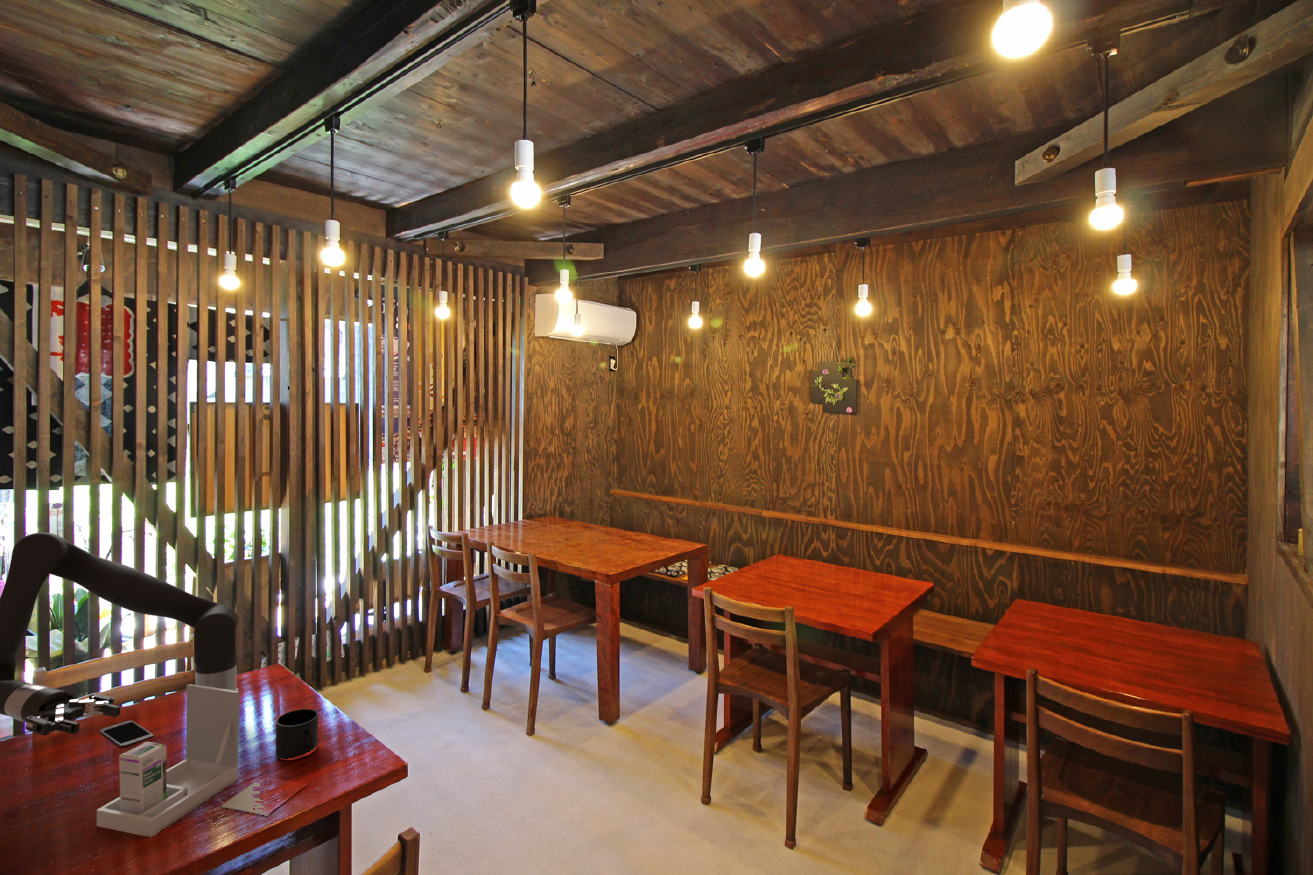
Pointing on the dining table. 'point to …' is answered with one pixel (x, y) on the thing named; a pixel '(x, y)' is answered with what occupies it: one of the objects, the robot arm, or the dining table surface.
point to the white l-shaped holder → (190, 764)
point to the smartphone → (126, 733)
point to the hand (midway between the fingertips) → (98, 720)
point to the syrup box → (143, 778)
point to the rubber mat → (246, 801)
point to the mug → (296, 733)
